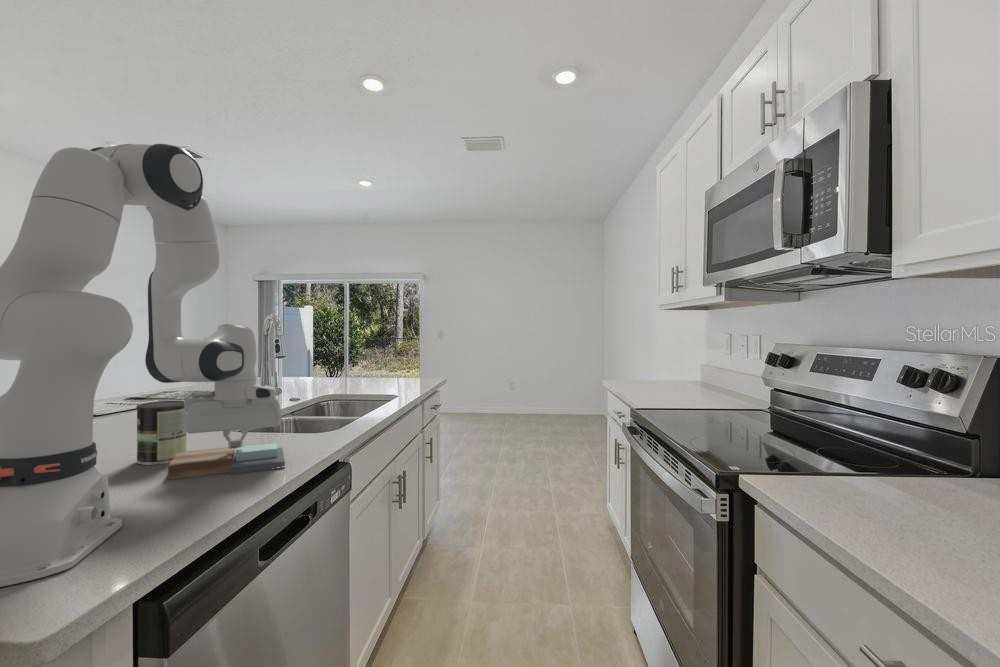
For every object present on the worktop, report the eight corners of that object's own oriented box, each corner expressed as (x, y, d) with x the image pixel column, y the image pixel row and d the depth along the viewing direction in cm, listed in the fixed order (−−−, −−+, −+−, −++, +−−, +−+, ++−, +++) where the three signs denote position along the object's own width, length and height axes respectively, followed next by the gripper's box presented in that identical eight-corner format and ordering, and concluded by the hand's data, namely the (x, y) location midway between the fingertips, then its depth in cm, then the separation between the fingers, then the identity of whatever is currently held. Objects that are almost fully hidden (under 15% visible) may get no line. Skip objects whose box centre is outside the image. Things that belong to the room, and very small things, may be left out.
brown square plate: (231, 471, 104) (231, 458, 104) (168, 479, 98) (168, 465, 98) (234, 458, 114) (234, 446, 114) (177, 464, 109) (177, 452, 109)
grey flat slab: (284, 467, 107) (284, 461, 107) (231, 474, 102) (231, 467, 102) (282, 453, 120) (282, 447, 120) (234, 458, 114) (234, 452, 114)
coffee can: (130, 467, 106) (130, 408, 106) (143, 456, 116) (143, 401, 115) (182, 462, 111) (182, 405, 110) (191, 451, 120) (191, 399, 120)
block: (277, 456, 111) (277, 448, 111) (235, 461, 107) (235, 453, 107) (276, 450, 116) (276, 443, 116) (236, 455, 112) (236, 447, 112)
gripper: (182, 395, 102) (181, 456, 102) (282, 390, 111) (281, 445, 111) (186, 391, 107) (186, 449, 107) (281, 387, 117) (280, 440, 117)
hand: (235, 447), depth 109 cm, fingers closed
